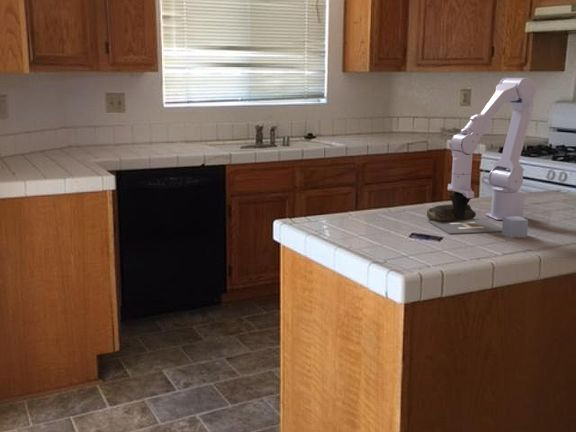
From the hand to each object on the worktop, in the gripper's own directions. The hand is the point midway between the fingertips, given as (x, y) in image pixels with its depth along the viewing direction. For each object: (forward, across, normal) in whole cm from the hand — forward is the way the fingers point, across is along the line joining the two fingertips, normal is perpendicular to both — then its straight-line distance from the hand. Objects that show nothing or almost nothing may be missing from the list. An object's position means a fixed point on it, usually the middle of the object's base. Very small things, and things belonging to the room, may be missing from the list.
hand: (458, 216), depth 199 cm
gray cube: (+2, +18, +9) cm, 20 cm away
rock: (+2, -4, -1) cm, 5 cm away
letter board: (+2, +6, 0) cm, 6 cm away
